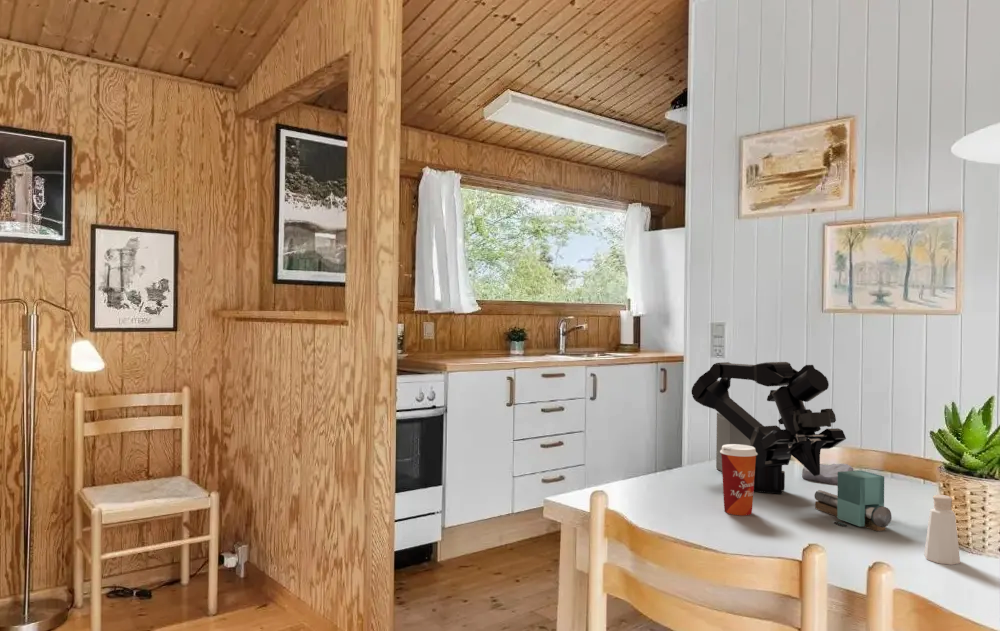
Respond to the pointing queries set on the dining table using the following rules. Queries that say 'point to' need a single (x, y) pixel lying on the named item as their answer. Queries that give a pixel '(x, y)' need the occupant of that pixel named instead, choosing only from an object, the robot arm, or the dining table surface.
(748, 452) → the paper cup
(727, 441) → the skincare box
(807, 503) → the dining table surface
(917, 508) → the dining table surface
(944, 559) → the pepper shaker
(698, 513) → the dining table surface
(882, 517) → the pipe rig
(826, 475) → the stone block
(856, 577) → the dining table surface
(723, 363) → the robot arm
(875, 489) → the teal notched block
